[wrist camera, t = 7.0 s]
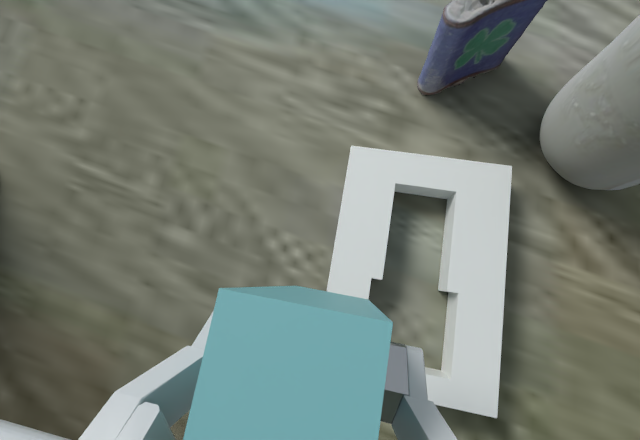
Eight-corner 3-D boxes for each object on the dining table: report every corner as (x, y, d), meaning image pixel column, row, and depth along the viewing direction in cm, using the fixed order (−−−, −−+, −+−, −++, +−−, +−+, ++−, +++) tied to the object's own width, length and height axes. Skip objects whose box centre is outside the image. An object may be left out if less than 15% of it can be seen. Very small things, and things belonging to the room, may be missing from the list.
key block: (356, 378, 15) (365, 539, 6) (282, 361, 16) (173, 481, 6) (368, 299, 16) (393, 322, 6) (296, 285, 17) (219, 288, 7)
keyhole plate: (482, 405, 25) (497, 418, 22) (315, 368, 26) (311, 377, 24) (498, 175, 28) (512, 165, 26) (350, 156, 30) (351, 145, 28)
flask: (422, 100, 31) (462, 5, 20) (410, 77, 31) (442, -27, 21) (506, 66, 31) (590, -47, 20) (492, 44, 31) (566, -77, 21)
